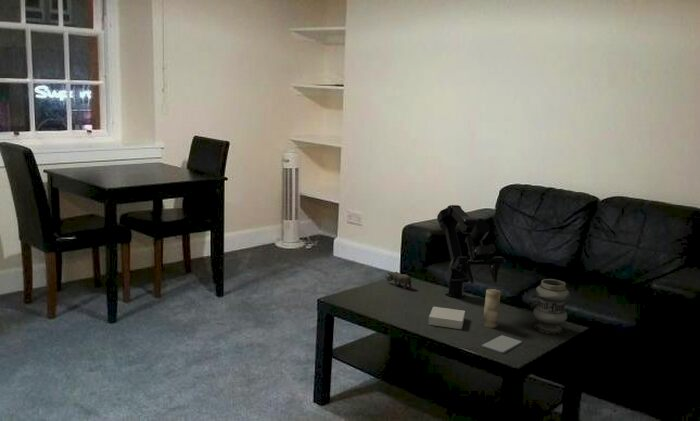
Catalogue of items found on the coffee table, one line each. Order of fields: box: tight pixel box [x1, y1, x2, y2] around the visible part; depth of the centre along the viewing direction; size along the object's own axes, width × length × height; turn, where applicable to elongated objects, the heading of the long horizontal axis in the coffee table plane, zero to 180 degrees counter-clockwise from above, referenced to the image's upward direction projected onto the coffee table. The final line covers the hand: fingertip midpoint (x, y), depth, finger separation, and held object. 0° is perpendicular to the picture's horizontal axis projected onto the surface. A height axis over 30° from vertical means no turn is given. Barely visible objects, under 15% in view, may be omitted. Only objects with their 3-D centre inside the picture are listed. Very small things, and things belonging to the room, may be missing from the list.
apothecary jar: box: [532, 278, 570, 334], centre depth 245 cm, size 12×12×18 cm
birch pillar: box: [482, 288, 501, 329], centre depth 246 cm, size 5×5×13 cm
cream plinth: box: [427, 306, 466, 330], centre depth 248 cm, size 12×12×3 cm
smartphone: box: [481, 334, 523, 355], centre depth 229 cm, size 8×1×15 cm
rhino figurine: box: [384, 271, 413, 290], centre depth 288 cm, size 4×14×6 cm, turn 49°
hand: (484, 282), depth 252 cm, fingers open, 9 cm apart
